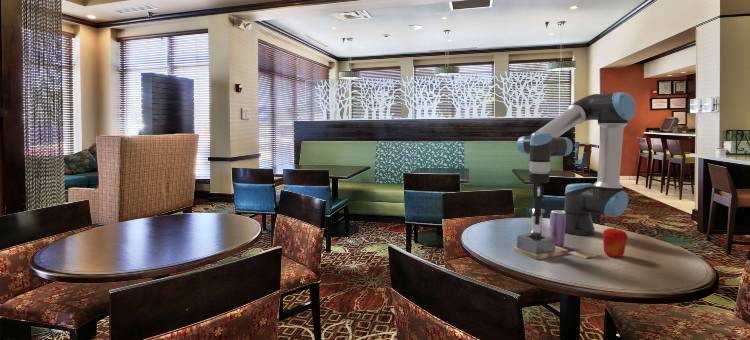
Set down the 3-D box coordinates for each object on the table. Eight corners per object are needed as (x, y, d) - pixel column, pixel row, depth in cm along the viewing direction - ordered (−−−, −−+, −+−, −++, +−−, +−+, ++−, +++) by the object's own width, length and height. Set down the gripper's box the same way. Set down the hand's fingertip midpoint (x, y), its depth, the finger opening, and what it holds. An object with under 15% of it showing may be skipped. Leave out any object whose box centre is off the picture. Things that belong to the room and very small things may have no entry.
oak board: (543, 245, 174) (543, 242, 174) (567, 253, 164) (567, 249, 164) (513, 250, 167) (513, 247, 167) (536, 259, 156) (536, 255, 156)
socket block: (535, 244, 171) (535, 232, 170) (554, 251, 162) (555, 238, 161) (516, 247, 167) (517, 235, 166) (536, 254, 158) (536, 241, 157)
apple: (630, 259, 157) (633, 229, 156) (608, 259, 157) (610, 228, 156) (618, 252, 165) (620, 223, 164) (597, 252, 166) (599, 223, 164)
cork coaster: (581, 251, 167) (581, 249, 166) (597, 256, 160) (597, 254, 160) (569, 253, 164) (569, 252, 163) (585, 258, 157) (585, 257, 157)
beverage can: (565, 249, 170) (567, 213, 168) (550, 248, 171) (552, 212, 169) (562, 244, 175) (564, 210, 174) (547, 244, 177) (549, 209, 175)
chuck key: (543, 239, 165) (544, 208, 163) (543, 241, 161) (545, 210, 160) (528, 238, 167) (529, 207, 165) (528, 240, 163) (529, 209, 162)
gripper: (529, 169, 170) (526, 225, 173) (528, 174, 154) (526, 235, 157) (548, 170, 167) (545, 226, 170) (550, 175, 152) (547, 237, 154)
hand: (536, 230), depth 163 cm, fingers closed on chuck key, 4 cm apart
